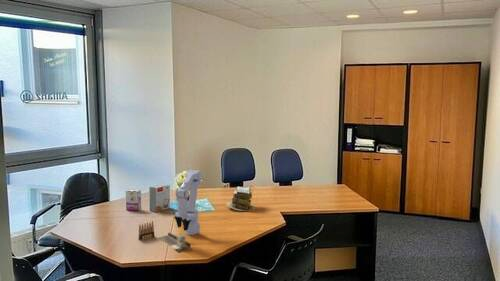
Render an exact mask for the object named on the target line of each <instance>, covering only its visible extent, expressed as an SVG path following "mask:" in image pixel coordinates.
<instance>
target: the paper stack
mask: <svg viewBox="0 0 500 281" xmlns="http://www.w3.org/2000/svg"><path fill="white" fill-rule="evenodd" d="M252 197H253V194H252V191H251V187H250V186H248V187H243V186H237V188H236V190H235V189H234V191H233V197H232V200H229V201H227V202H225V205H226V206H227V207H228V208H230V209H233V210H235V211H242V212H252V211H255V210H256V209H257V208H256V206H255V205H254V204H252Z"/></svg>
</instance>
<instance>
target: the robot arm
mask: <svg viewBox="0 0 500 281" xmlns="http://www.w3.org/2000/svg"><path fill="white" fill-rule="evenodd" d="M202 173H203V172H202V171H201V170H197V169H196V170H190V169H188V170H186V171H185V181H183V182H182V183H181V185H180V187H179V188H178V189H177V190H176V192H175V197H176V201H177V211H176V212H175V213H174V215H175V216H174V220H175V222H176V226H177V228H178V229H179V228H181V227H182V226H183V231H184V233H185V234H184V235H185V236H194V235H196V234H199V235H201V233H200V232H201V228H200V227H201V226H200V225H201V224H200V223H199V222H200V221H198V220H199V210H197V208H196V203H197V202H196V201H197V195H198V187H199V185H200V184H201V183H202V177H203V175H202Z"/></svg>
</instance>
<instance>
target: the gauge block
mask: <svg viewBox="0 0 500 281" xmlns="http://www.w3.org/2000/svg"><path fill="white" fill-rule="evenodd" d="M176 236H177V245H178V246H180V247H182V246H185V245H186V242H187V235H186V234H183V233H182V234H179V235H178V234H177V235H176Z"/></svg>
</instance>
